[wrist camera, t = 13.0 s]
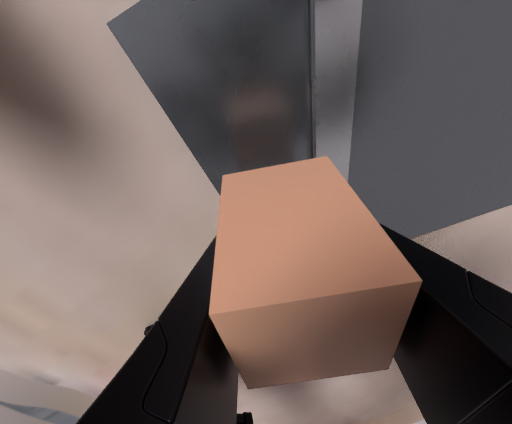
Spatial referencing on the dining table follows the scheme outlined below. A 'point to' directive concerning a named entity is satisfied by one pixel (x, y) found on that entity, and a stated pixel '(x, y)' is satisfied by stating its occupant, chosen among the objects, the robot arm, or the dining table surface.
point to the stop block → (305, 277)
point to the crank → (334, 77)
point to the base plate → (365, 104)
